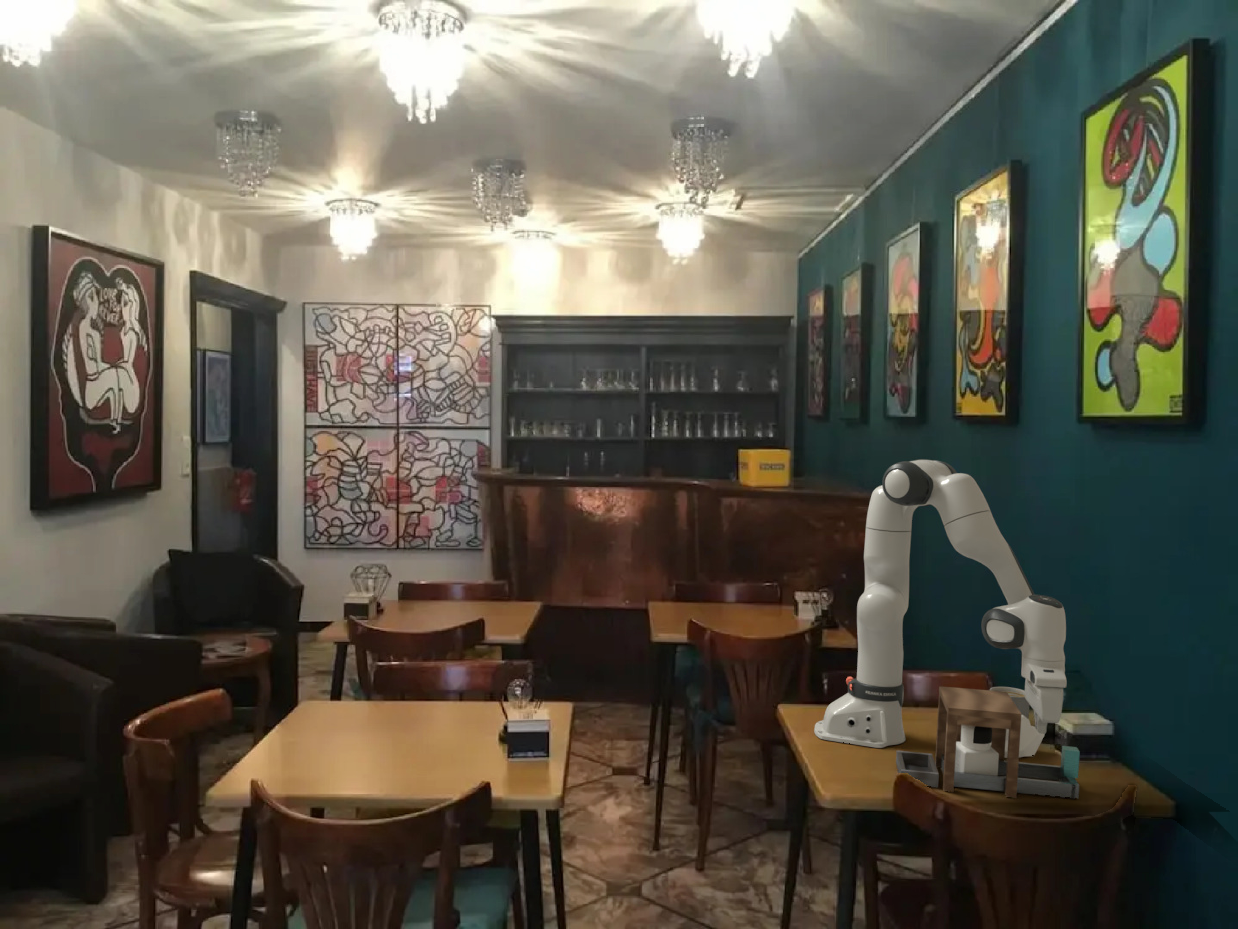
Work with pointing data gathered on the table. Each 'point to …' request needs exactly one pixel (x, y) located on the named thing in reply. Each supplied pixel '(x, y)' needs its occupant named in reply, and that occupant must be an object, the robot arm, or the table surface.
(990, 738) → the container
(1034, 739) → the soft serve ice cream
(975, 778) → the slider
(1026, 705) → the coffee mug
